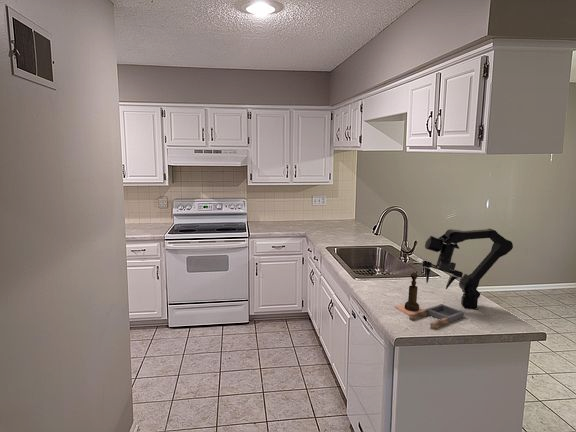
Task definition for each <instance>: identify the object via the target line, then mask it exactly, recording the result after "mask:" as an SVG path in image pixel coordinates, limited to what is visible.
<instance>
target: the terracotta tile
mask: <svg viewBox="0 0 576 432" xmlns="http://www.w3.org/2000/svg"><path fill="white" fill-rule="evenodd" d="M394 309H396V310H399V311H400V312H402V313H404V314H405V315H407V316H410V314H412V313H415V312H418V311H421V310H424V309H425V308H423V307H420V306H419V310H418V311H409V310H406V309H405V304H399V305H395V306H394Z"/></svg>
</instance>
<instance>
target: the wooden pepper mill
mask: <svg viewBox="0 0 576 432" xmlns="http://www.w3.org/2000/svg"><path fill="white" fill-rule="evenodd" d="M418 276H419V275H418V273H416V272H415V271H414V272H412V273H410V277H411V279H412V280H411V282H410V283H411V284H410V285H409V286H408V295H407V296H408V299H407V301H406V302H404V305H405V309H406V310H409V311H418V310H419V307H420V304H419V303H418V302H417V300H418V288H419V287H418V286H416V285H417V281H416V280H417V279H418Z"/></svg>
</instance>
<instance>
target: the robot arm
mask: <svg viewBox="0 0 576 432" xmlns="http://www.w3.org/2000/svg"><path fill="white" fill-rule="evenodd" d="M480 239H489V240H490V241H492V242H493V243H492V246H491V250H490V251H489V253H488V254H487V255H485V256H486V257H484V259H483V260H481V262H480V263H479V264H478V265H477V267H476V268H475V269H474V270H472V272H471V273H470V274H466V273H463V272H462V271H461V270H456V269H455V268H456V265H457V264H456V263H455V262H453V261H452V257H453V254H454V251H455V249H457V250H459V249H460V246H459V245H458V244H459V243H462V242H464V241H468V240H480ZM424 248H425V249H426V250H428V251H432V252H434V253H439V256H438V258H437V261H436V264H434V263H432V262H431V261H427V260H422V261H421V264H420V266H422V268H423V269H424V273H425V280H426V281H425V283H426V284H428V282H429V280H430V274H431V270H432V269H434V270H438V271H442V272H444V273H448V274H451V275H449V278H448V280H447V283H446V286H445V290H447V289H448V288H449V287H450V286H451V284H452V283H453V282H454V281H455V280H456V279H459V283H458V286H459V288H460V289H461V291H462V296H461V300H460V304H461V306H462V307H463V308H464V309H466V308H477V307H478V301H479V300H478V299H479V298H480V296H481V292H479V290H477V289H478V287H479V285H480V281H481V279H482V278H483V277H484V276H486V274H487V273H488V272H489V271H490V269H491V268H492V267H493V266H494V265H495V264H496V262H497V261H498V260H499V259H500V258H501V257H504V256H506V255H507V254H508V253H510V252H511V251H512V250H513V248H514V244H513V242H512V241H511V240H509V239H507V238H505V237H504V236H502V235H501V234H500V233H498V231H496V230H495V229H493V228H487V229H484V228H483V229H475V230H474V229H473V230H459V229H451V228H450V229H447V230H446V231H445V233H444V234H442V235H441V236H439V237H435V236H433V235H430V236H429V238H427V239H426V241H425V245H424ZM451 261H452V262H451ZM431 268H432V269H431Z"/></svg>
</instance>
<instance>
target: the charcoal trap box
mask: <svg viewBox="0 0 576 432" xmlns="http://www.w3.org/2000/svg"><path fill="white" fill-rule="evenodd" d="M426 310H427V315H426V316H429V317H431V316H432V317H431V318H434V319H436V318H437V320H439V319H443V318H448V324H450V323H452V322H451V321H453V322H455V321H457V320H456V319H458V320H460V319H459V318H461V319H463V318H464V317H465V312H464V311H462V310H459V309H456V308H454V307H451V306H449V305H445V304H443V303H439V304H438V305H434V306H432V307H427V308H426ZM462 317H463V318H462ZM454 320H455V321H454ZM449 322H450V323H449Z"/></svg>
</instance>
